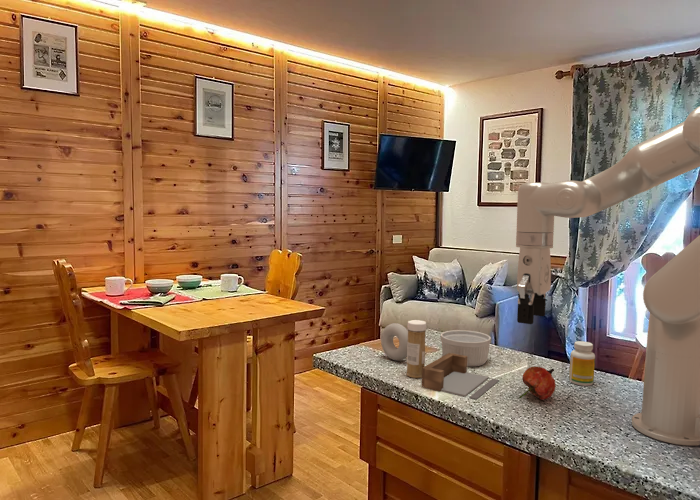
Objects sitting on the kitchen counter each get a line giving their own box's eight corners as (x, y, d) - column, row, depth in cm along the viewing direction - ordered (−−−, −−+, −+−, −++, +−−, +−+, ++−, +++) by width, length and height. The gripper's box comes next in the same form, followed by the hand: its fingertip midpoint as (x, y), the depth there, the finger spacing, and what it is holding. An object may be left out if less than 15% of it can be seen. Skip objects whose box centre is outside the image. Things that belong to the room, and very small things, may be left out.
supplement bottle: (565, 378, 127) (567, 340, 126) (586, 378, 127) (589, 340, 126) (575, 386, 121) (577, 346, 120) (597, 386, 122) (600, 346, 121)
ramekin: (429, 359, 140) (430, 334, 139) (458, 351, 149) (459, 327, 148) (471, 372, 130) (472, 345, 130) (499, 362, 139) (500, 336, 138)
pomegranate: (533, 415, 109) (572, 388, 109) (512, 387, 110) (551, 359, 109) (523, 405, 117) (559, 379, 117) (503, 379, 117) (539, 353, 117)
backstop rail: (466, 373, 129) (467, 356, 129) (440, 391, 116) (441, 372, 116) (448, 369, 132) (449, 352, 131) (421, 386, 119) (421, 368, 118)
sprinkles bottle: (428, 376, 126) (430, 322, 125) (414, 379, 124) (416, 324, 122) (416, 371, 130) (417, 318, 129) (402, 374, 127) (403, 320, 126)
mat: (488, 378, 126) (488, 376, 126) (465, 396, 113) (465, 395, 113) (456, 371, 130) (456, 370, 130) (429, 388, 118) (430, 386, 118)
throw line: (499, 380, 124) (499, 379, 124) (476, 399, 112) (476, 398, 112) (492, 379, 125) (492, 378, 125) (469, 397, 113) (469, 397, 113)
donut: (414, 363, 136) (415, 326, 136) (405, 365, 134) (406, 328, 133) (386, 354, 144) (387, 319, 143) (377, 357, 141) (378, 321, 140)
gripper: (542, 243, 102) (539, 329, 103) (561, 239, 116) (558, 314, 118) (504, 241, 106) (501, 324, 108) (527, 238, 121) (525, 310, 122)
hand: (531, 319), depth 113 cm, fingers open, 9 cm apart
